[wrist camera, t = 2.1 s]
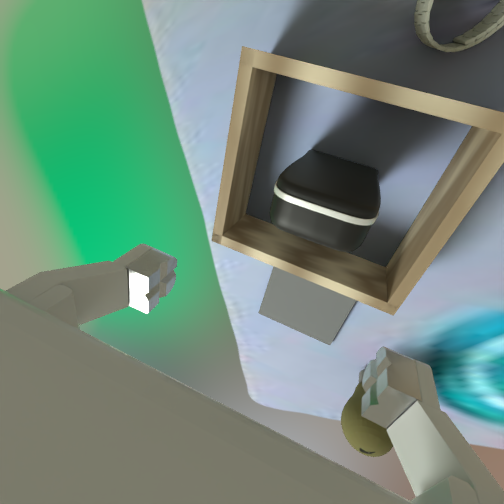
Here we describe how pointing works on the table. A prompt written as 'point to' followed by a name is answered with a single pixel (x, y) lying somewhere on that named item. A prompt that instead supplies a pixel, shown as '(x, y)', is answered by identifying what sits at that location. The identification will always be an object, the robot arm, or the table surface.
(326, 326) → the pad
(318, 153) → the battery charger
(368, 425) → the light bulb
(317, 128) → the table surface
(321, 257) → the box
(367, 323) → the table surface
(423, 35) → the wristwatch
